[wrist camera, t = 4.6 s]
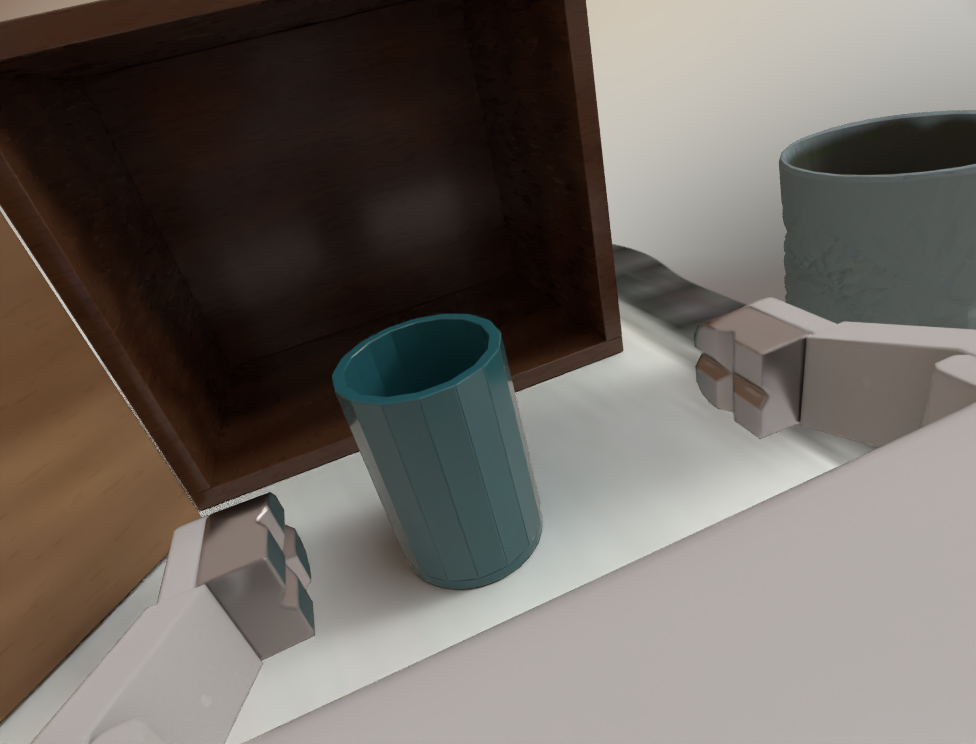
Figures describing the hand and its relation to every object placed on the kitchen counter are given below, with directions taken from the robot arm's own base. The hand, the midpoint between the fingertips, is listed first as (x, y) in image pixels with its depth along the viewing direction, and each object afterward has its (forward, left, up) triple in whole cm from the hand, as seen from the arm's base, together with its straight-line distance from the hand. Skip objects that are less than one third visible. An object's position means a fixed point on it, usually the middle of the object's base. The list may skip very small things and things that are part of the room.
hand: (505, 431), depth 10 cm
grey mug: (+12, -24, -14) cm, 30 cm away
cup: (+12, 0, -14) cm, 18 cm away
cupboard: (+31, 0, -14) cm, 34 cm away
